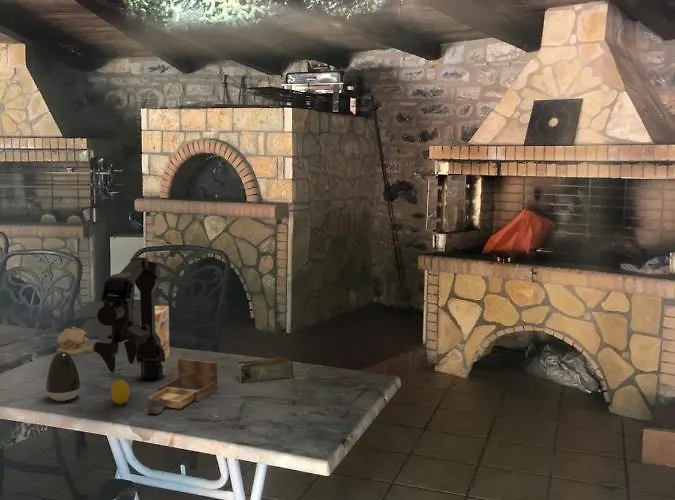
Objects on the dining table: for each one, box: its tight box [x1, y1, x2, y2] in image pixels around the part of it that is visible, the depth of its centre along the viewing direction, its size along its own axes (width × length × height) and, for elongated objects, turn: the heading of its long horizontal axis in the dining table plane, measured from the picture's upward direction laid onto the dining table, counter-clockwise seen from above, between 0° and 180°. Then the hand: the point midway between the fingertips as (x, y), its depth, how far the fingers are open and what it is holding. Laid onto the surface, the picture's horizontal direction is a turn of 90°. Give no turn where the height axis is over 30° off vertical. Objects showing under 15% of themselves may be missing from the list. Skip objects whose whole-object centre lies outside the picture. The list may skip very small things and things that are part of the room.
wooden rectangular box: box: [236, 356, 294, 384], centre depth 234 cm, size 8×19×6 cm, turn 111°
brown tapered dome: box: [45, 351, 82, 402], centre depth 210 cm, size 10×10×15 cm
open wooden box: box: [157, 358, 219, 403], centre depth 217 cm, size 14×13×9 cm
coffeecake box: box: [140, 305, 170, 364], centre depth 254 cm, size 15×7×20 cm, turn 179°
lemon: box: [110, 379, 131, 406], centre depth 206 cm, size 6×6×8 cm
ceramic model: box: [56, 326, 94, 355], centre depth 266 cm, size 14×11×10 cm
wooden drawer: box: [147, 387, 198, 415], centre depth 206 cm, size 11×17×4 cm, turn 162°
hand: (122, 367), depth 205 cm, fingers open, 9 cm apart
